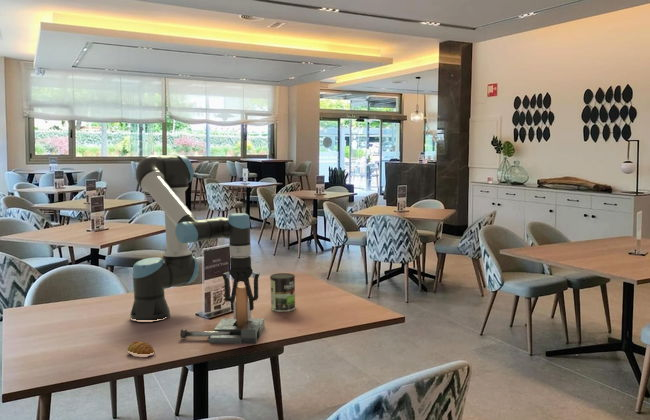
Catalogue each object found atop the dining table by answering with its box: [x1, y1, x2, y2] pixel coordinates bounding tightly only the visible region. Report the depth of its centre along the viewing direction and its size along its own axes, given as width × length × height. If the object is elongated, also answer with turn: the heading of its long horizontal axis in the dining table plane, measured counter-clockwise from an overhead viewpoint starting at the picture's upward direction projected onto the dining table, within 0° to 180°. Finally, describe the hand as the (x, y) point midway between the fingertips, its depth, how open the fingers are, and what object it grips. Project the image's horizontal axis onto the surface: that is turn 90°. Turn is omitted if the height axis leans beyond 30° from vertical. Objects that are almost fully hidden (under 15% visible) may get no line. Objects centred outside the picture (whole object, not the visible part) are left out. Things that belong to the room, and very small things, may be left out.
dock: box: [206, 317, 265, 344], centre depth 205 cm, size 18×18×5 cm
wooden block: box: [235, 285, 249, 326], centre depth 207 cm, size 4×4×14 cm
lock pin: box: [179, 329, 230, 339], centre depth 201 cm, size 17×3×3 cm, turn 87°
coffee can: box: [269, 272, 296, 313], centre depth 237 cm, size 10×10×14 cm
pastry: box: [126, 340, 155, 354], centre depth 187 cm, size 9×7×4 cm
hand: (242, 318), depth 208 cm, fingers closed on wooden block, 4 cm apart
